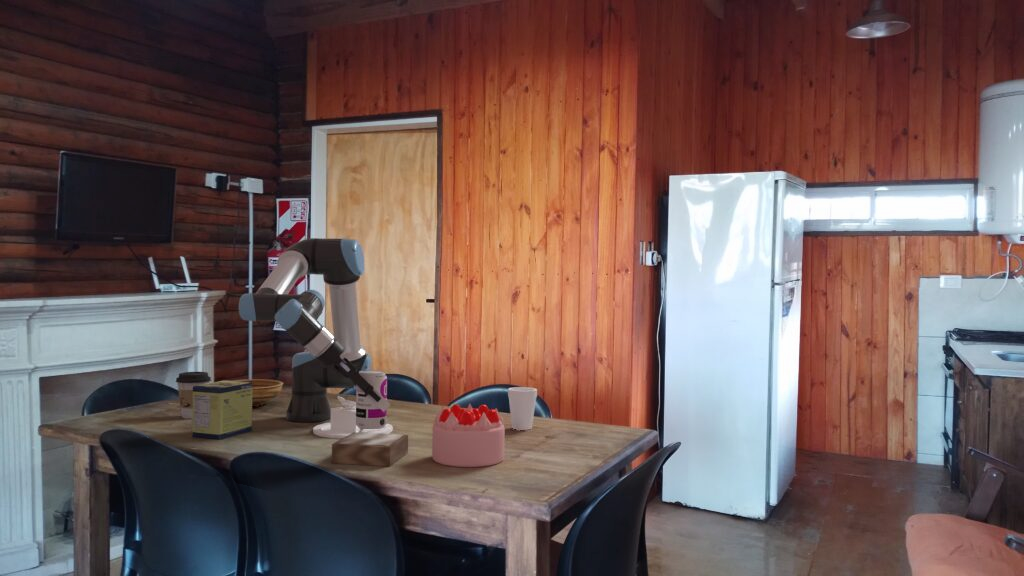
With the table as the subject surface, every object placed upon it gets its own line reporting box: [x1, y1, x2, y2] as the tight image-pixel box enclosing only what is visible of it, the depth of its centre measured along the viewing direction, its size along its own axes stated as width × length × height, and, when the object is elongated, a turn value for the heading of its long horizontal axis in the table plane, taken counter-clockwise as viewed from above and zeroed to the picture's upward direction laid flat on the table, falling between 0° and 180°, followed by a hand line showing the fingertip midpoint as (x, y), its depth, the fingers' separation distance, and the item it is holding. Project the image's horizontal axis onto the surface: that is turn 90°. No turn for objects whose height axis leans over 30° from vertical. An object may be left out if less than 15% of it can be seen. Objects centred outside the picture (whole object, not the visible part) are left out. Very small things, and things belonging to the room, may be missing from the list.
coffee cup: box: [175, 371, 212, 420], centre depth 269 cm, size 11×11×15 cm
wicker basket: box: [232, 378, 284, 407], centre depth 296 cm, size 30×24×8 cm
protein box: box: [191, 379, 253, 440], centre depth 243 cm, size 10×16×16 cm
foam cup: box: [507, 386, 538, 431], centre depth 258 cm, size 10×9×13 cm
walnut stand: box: [331, 432, 409, 467], centre depth 214 cm, size 16×16×5 cm
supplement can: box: [355, 369, 388, 429], centre depth 214 cm, size 8×8×15 cm
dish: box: [312, 395, 394, 440], centre depth 250 cm, size 25×25×11 cm
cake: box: [431, 403, 506, 468], centre depth 215 cm, size 20×20×14 cm
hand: (383, 405), depth 215 cm, fingers closed on supplement can, 8 cm apart
